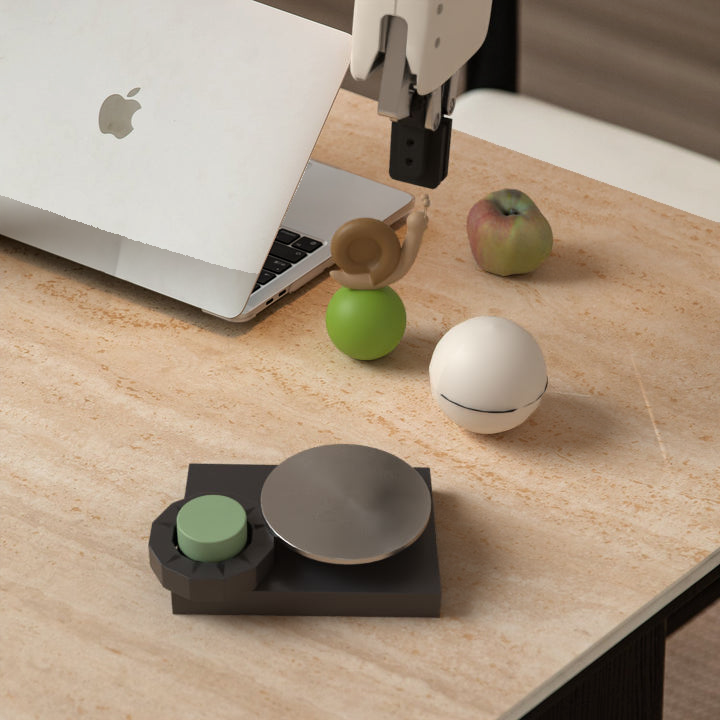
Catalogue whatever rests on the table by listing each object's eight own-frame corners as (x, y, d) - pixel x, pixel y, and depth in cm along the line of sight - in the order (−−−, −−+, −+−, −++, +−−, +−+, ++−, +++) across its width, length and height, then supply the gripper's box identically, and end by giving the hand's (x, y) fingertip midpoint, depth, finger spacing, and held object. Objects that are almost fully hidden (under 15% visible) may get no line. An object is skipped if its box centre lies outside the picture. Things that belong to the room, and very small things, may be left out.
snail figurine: (422, 375, 83) (435, 218, 76) (326, 376, 82) (330, 218, 75) (414, 329, 87) (426, 176, 80) (323, 330, 87) (326, 176, 80)
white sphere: (403, 433, 78) (410, 337, 74) (456, 373, 83) (465, 280, 79) (550, 490, 74) (567, 392, 70) (596, 424, 79) (614, 329, 75)
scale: (146, 626, 64) (142, 578, 62) (169, 486, 73) (165, 441, 71) (440, 629, 65) (445, 582, 63) (427, 491, 74) (431, 445, 71)
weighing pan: (256, 563, 63) (256, 558, 63) (264, 447, 71) (264, 442, 71) (436, 566, 64) (436, 560, 63) (425, 450, 71) (425, 444, 71)
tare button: (174, 563, 64) (173, 541, 63) (181, 515, 67) (180, 493, 66) (245, 564, 64) (244, 542, 63) (248, 516, 67) (248, 494, 66)
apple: (478, 230, 99) (485, 163, 95) (564, 266, 95) (575, 198, 91) (433, 259, 95) (439, 191, 91) (521, 298, 91) (530, 228, 87)
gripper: (428, -177, 71) (409, 119, 82) (310, -116, 60) (306, 218, 71) (554, -159, 69) (517, 144, 79) (455, -91, 57) (428, 250, 68)
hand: (417, 178), depth 75 cm, fingers closed
